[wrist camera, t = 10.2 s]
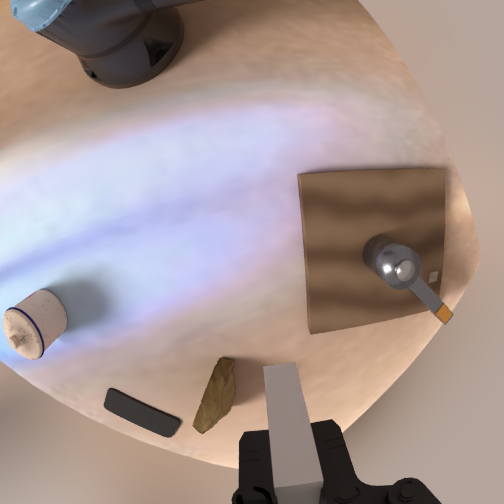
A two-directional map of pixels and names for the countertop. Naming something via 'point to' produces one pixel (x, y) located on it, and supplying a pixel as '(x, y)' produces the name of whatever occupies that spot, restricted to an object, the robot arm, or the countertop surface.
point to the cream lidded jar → (35, 324)
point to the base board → (357, 235)
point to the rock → (216, 396)
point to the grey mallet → (402, 272)
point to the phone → (140, 413)
